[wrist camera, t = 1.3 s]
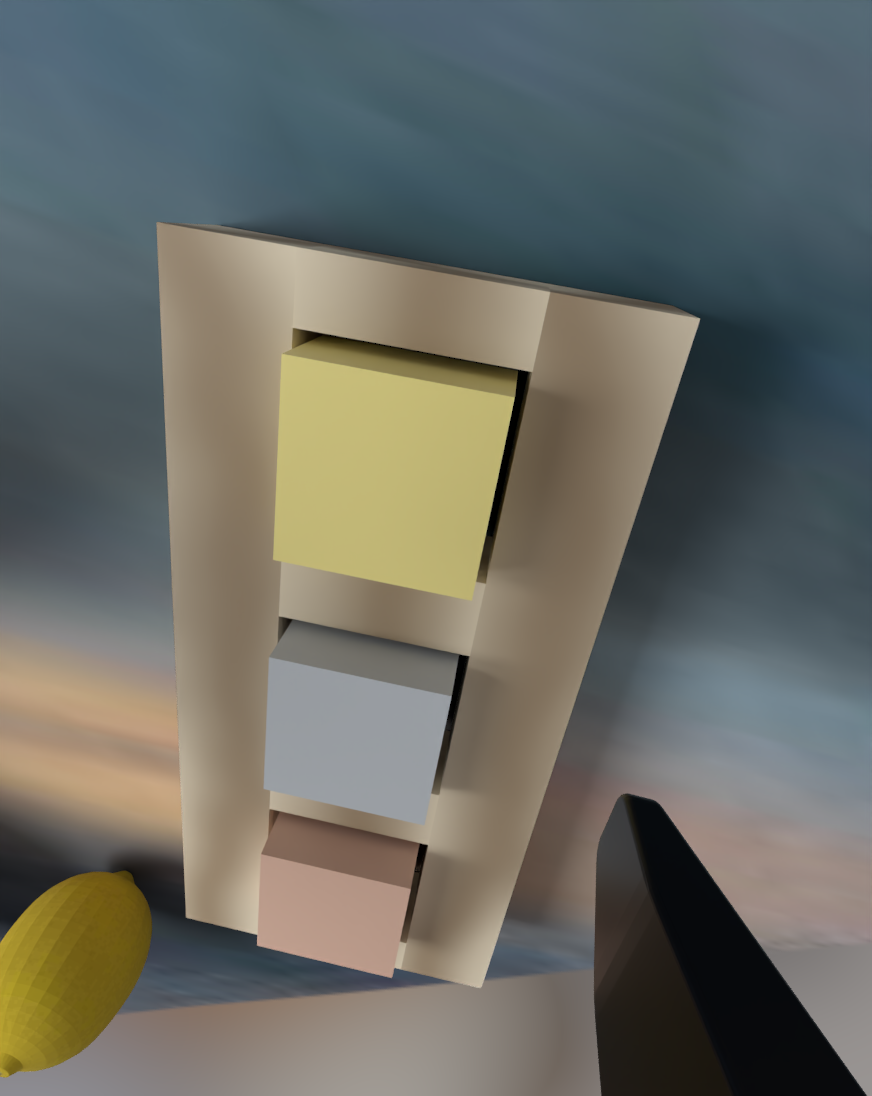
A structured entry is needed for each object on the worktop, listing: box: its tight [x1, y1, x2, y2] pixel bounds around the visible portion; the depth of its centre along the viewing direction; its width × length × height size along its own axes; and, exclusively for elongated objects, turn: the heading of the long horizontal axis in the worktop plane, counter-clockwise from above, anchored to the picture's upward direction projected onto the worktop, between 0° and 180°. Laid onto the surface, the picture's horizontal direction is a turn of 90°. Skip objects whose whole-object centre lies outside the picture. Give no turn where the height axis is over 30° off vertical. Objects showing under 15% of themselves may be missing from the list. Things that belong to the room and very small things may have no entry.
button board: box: [157, 222, 700, 988], centre depth 21 cm, size 12×25×3 cm, turn 171°
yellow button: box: [273, 335, 518, 601], centre depth 16 cm, size 5×5×3 cm
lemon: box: [0, 871, 152, 1077], centre depth 26 cm, size 6×6×8 cm
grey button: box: [264, 619, 459, 825], centre depth 19 cm, size 5×5×3 cm
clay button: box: [257, 811, 419, 978], centre depth 23 cm, size 5×5×3 cm
